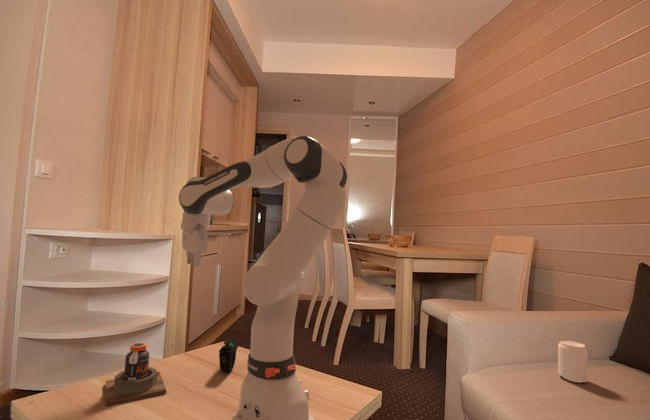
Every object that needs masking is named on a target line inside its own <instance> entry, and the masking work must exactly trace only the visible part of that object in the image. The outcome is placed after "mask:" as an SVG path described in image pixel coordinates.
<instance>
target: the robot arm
mask: <svg viewBox="0 0 650 420" xmlns="http://www.w3.org/2000/svg"><path fill="white" fill-rule="evenodd" d="M293 177H294V178H295V179H296V181H297V182H298V183H303V184H304V193H303V195H302V197H301V199H300V200H299V202H297V205H296V207H295V208H294V210H293V211H292V212H291V214H290V216H289V218H288V219H287V221H286V222H285V224H284V226H283V227H282V229H281V230H280V232H279V233H278V234H277V236H276V237H275V239H273V240H272V242H271V243H270V244H269V245H268V246H267V248H266V249H265V250H264V251H263V252H262V254H261V255H260V257H259V258H258V259H257V261H256V262H255V263H254V264H253V265H252V266H251V267H250V268H249V269H248V270H247V272H245V274H244V276H243V278H242V284H241V285H242V292H243V295H244V297H245V298H246V299H247V301H249V302H250V303H251V304H253V305H256V306H257V307H256V311H255V314H254V318H253V320H252V321H251V322H252V323H251V330H250V332H251V333H250V349H249V353H248V356H247V362H246V363H247V367H246V369H247V373H246V376H245V377H244V379H243V380H242V382H241V384H240V392H239V399H238V400H239V401H238V408H237V410H236V411H235V412H233V414H232V419H231V420H316V419H315V418H314V416H313V415H312V413H311V412H310V409H309V399H310V393H309V390H308V389H303V387H302V386H303V385H302V384H301V383H302V382H301V379H299V378H298V376H297V373H296V370H297V364H296V358H295V354H294V353H293V350H294V334H295V333H294V331H295V320H296V313H297V310H298V303H299V296H300V291H301V283H302V279H303V271H304V270H305V269H306V267H307V266H308V265H309V263H310V262H311V261H312V259H313V258H314V257H315V256H316V255H317V253H318V251H319V249H320V248H321V246H322V245H323V243H324V242H325V240H326V239H327V237H328V235H329V234H330V232H331V230H332V229H333V227H334V226H335V224H336V222H337V220H338V218H339V216H340V213H341V212H342V209H343V207H344V204H345V201H346V193H345V190H344V189H343V188H345V185H346V184H347V181H348V173H347V169H346V168H345V166H344V165H343V163H342V162H341V161H340V160H339V159H337V157H336V156H335V155H334V153H332V152H331V150H329V149H328V148H327V147H326V146H324V145H323V144H321V143H320V142H319V141H318V140H316V139H315V138H312V137H310V136H306V135H299V136H293V137H289V138H286V139H283V140H281V141H279V142H277V143H275V144H273V145H271V146H269V147H268V148H266V149H265V150H263V151H262V152H259V153H257V154H255V155H254V156H252V157H249V158H247V159H245V160H242V161H239V162H236V163H233V164H231V165H228V166H226V167H225V168H222V169H220V170H218V171H217V172H215V173H213V174H210V175H208V176H206V177H204V176H194V177H191V178H189V179H188V180H187V181H186V183H185V185H184V186H183V187H182V188H181V189H180V191H179V194H178V201H179V204H180V207H181V208H182V209H183V213H182V218H181V223H180V229H181V230H182V233H181V235H182V236H181V237H182V239H181V244H182V245H181V246H182V249H183V250H184V251H186V253H185V254H186V264H187V265H192V266H193V267H194V268H200V266H201V260H202V258H203V257H202V256H203V254H207V251H208V241H209V240H208V239H209V236H208V231H209V230H210V224H211V223H210V222H211V216H219V217H220V216H225V215H229V214H230V213H231V212H232V210H233V209H234V205H235V197H234V193H233V191H231V190H233V189H237V188H259V189H270V188H273V187H276V186H278V185H281V184H283V183H284V182H286V181H288V180H290V179H292V178H293Z"/></svg>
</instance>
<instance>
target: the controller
mask: <svg viewBox="0 0 650 420" xmlns="http://www.w3.org/2000/svg"><path fill="white" fill-rule="evenodd" d="M223 344H224V345H223V346H222V347H221V348H220V349H219V350H218V353H219V354H218V358H219V369H220V371H221V372H223V373H229V372H231V371H233V369H234V366H235V362H236V358H237V350H238V348H239V345H240V343H239V340H233V339H230V340H227V341H224V342H223Z"/></svg>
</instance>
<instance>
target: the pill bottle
mask: <svg viewBox="0 0 650 420" xmlns="http://www.w3.org/2000/svg"><path fill="white" fill-rule="evenodd" d="M124 362H125V363H124V370H123V371H124V380H125V381H134V380H140V379H144V378H146V377H147V376H148V367H149V365H150V364H149V362H150V352H149V351H148V350H147V343H144V342H137V343H133V344H131V345H130V349H129V352H128V353H126V356H125V361H124Z"/></svg>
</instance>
